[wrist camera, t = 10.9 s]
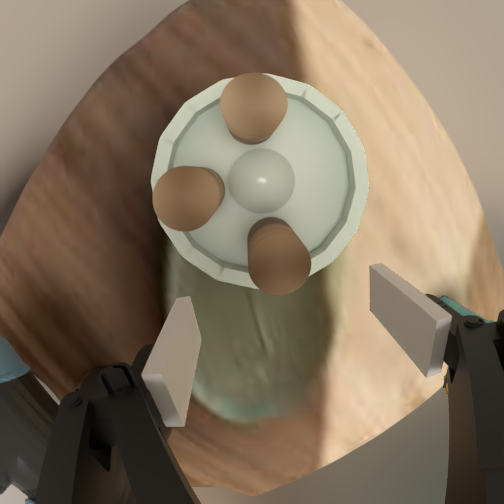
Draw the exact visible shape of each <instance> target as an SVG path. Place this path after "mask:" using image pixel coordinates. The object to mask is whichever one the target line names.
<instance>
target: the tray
mask: <svg viewBox="0 0 504 504" xmlns="http://www.w3.org/2000/svg"><path fill="white" fill-rule="evenodd" d="M265 75H266V73H265ZM267 75H268V76H270V77H272V78H274V79H275V80H276V81H277V82H278V83H279V84H280V85H281V86H282V87H283V89H284V91H285V93H286V96H287V101H288V107H287V112H286V115H285V117H284V119H283V120H282V122H281V123H280V124H279V126H278V127H277V129H276V130H275V131H274V133H273V134H272V135H271V136H270V138H269V139H267V140H266V141H264V142H262V143H260V144H256V145H248V144H244V143H241V142H239V141H237V140H236V139H235V138H234V137H233V136H232V135H231V133H230V132H229V129H228V127H227V125H226V122H225V120H224V118H223V115H222V113H221V109H220V98H221V94H222V91H223V90H224V88H225V86H226V85H227V84H228V83H229V82H230V81H231V80H232V79H234V78H229V79H223V80H221V81H219V82H218V83H216V84H214V85H212V86H211V87H209V88H207V89H206V90H204V91H202V92H201V93H199V94H198V95H196V96H194V97H193V98H191V99H190V100H188V101H187V102H185V103H184V104H183V106H182V107H181V108H180V110H179V111H178V112H177V114H176V115H175V117H174V118H173V119H172V121H171V122H170V124H169V125H168V127H167V128H166V129H165V131H164V132H163V134H162V135H161V137H160V138H161V139H159V143H158V147H157V152H156V157H155V161H154V166H153V171H152V176H151V185H152V190H153V191H154V187H155V185H156V183H157V181H158V180H159V178H160V177H161V176H162V175H163V174H164V173H165V172H167V171H168V170H170V169H172V168H175V167H179V166H195V167H206V168H210V169H212V170H214V171H215V172H217V173H218V174H219V175H220V177H221V178H222V180H223V182H224V186H225V196H224V199H223V201H222V203H221V205H220V206H219V207H218V209H217V210H216V212H215V213H214V214H213V216H212V217H211V218H210V220H209V221H208V222H207V223H206V224H205V225H203V226H202V227H200V228H198V229H196V230H193V231H187V232H182V231H176V230H173V229H171V228H169V227H167V226H166V225H165V224H163V223H162V222H161V221H160V219H159V218H158V220H159V221H160V222H159V223H160V224H161V226H162V228H163V229H164V231H165V232H166V234H167V235H168V237H169V238H170V240H171V241H172V243H173V244H174V245H175V247H176V248H177V250H178V251H179V253H180V254H181V256H183V258H184V259H186V260H187V261H189V262H190V263H192V264H193V265H195V266H196V267H198V268H199V269H201V270H202V271H204V272H205V273H207V274H208V275H210V276H211V277H213V278H214V279H216V280H217V279H218V281H222V282H227V283H231V284H236V285H241V286H245V287H250V288H255V289H257V288H258V287H257V286H256V285H255V284H254V283H253V282H252V280H251V278H250V275H249V271H248V246H247V238H248V233H249V231H250V229H251V227H252V226H253V225H254V224H255V223H256V222H257V221H259V220H260V219H263V218H266V217H277V218H280V219H282V220H284V221H285V222H286V223H288V224H289V226H290V227H291V228H292V229H293V231H294V232H295V233H296V235H297V236H298V237H299V239H300V240H301V241H302V242H303V244H304V245H305V246H306V248H307V249H308V251H309V254H310V257H311V271H310V274H309V276H310V275H312V274H313V273H315V272H317V271H319V270H320V269H322V268H324V267H325V266H327V265H329V264H330V263H332V262H333V261H334V260H335V259H336V258H337V256H338V255H339V254H340V253H341V251H342V250H343V249H344V247H345V246H346V245H347V244H348V242H349V241H350V240H351V238H352V237H353V236H354V234H355V233H356V232H357V230H358V229H359V225H360V222H361V218H362V215H363V211H364V208H365V204H366V200H367V196H368V193H369V181H368V172H367V164H366V157H365V149H364V146H363V145H362V143H361V141H360V139H359V137H358V136H357V134H356V132H355V130H354V128H353V127H352V125H351V123H350V122H349V120H348V118H347V116H346V115H345V113H344V111H343V110H342V109H340V108H339V107H338V106H337V105H335V104H334V103H333V102H332V101H330V100H329V99H328V98H326V97H325V96H324V95H322V94H321V93H320V92H318V91H317V90H316V89H314V88H313V87H312V86H310V85H309V84H305V83H302V82H298V81H295V80H291V79H287V78H283V77H280V76H276V75H271V74H267ZM308 85H309V86H308ZM342 111H343V112H342ZM357 228H358V229H357ZM332 260H333V261H332ZM258 289H259V288H258Z"/></svg>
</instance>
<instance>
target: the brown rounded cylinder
mask: <svg viewBox="0 0 504 504" xmlns="http://www.w3.org/2000/svg"><path fill="white" fill-rule="evenodd" d="M224 196H225V186H224V182H223V180H222V178H221V177H220V175H219V174H218V173H217V172H215V171H214V170H212V169H210V168H206V167H195V166H179V167H175V168H172V169H170V170H168V171H167V172H165V173H164V174H163V175H162V176H161V177H160V178H159V180H158V181H157V183H156V185H155V187H154V191H153V207H154V210H155V213H156V215H157V216H158V218H159V219H160V221H161V222H162V223H163V224H165V225H166V226H167V227H169V228H171V229H173V230H176V231H182V232H187V231H193V230H196V229H198V228H200V227H202V226H203V225H205V224H206V223H207V222H208V221H209V220H210V218H211V217H212V216H213V214H214V213H215V212H216V210H217V209H218V207H219V206H220V205H221V203H222V201H223V199H224Z"/></svg>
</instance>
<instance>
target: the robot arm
mask: <svg viewBox="0 0 504 504" xmlns="http://www.w3.org/2000/svg"><path fill="white" fill-rule="evenodd" d="M369 267H370V311H371V312H372V313H373V314H374V315H375V317H376V318H377V319H378V320H379V321H380V322H381V324H382V325H383V326H384V327H385V328H386V329H387V331H388V332H389V333H390V334H391V335H392V337H393V338H394V339H395V340H396V341H397V343H398V344H399V345H400V346H401V347H402V349H403V350H404V351H405V352H406V353H407V355H408V356H409V357H410V358H411V360H412V361H413V362H414V363H415V364H416V366H417V367H418V368H419V369H420V371H421V372H422V373H423V374H424V376H425V377H426V378H428V377H430V376H433V375H435V374H438V373H440V372H441V369H442V365H443V361H444V362H445V363H446V364H447V365H448V370H447V374H446V377H445V381H444V385H443V388H445V387H446V384H448V399H449V464H448V478H447V490H446V497H445V504H504V310H502V311H501V312H500V313H499V315H498V320H497V322H490V323H486V322H485V321H484V319H482V318H481V317H478V316H475V315H466V316H462V315H461V314H459V313H458V312H457V311H455V310H454V309H453V308H451V307H450V306H448V305H447V304H446V303H445V302H444V303H443V301H442V300H441V299H439V298H438V297H436V296H433V295H430V294H425V295H424V294H423V293H422V292H420V291H419V290H418V289H416V288H415V287H414V286H412V285H411V284H410V283H408V282H407V281H406V280H404V279H403V278H402V277H400V276H399V275H397V274H396V273H395V272H393V271H392V270H390V269H389V268H388V267H386V266H385V265H383V264H382V263H380V264H375V265H370V266H369ZM201 342H202V338H201V335H200V331H199V327H198V324H197V320H196V316H195V312H194V309H193V305H192V301H191V297H190V296H187V297H180V298H176V300H175V302H174V304H173V307H172V309H171V311H170V313H169V315H168V317H167V319H166V321H165V323H164V326H163V328H162V330H161V332H160V334H159V336H158V338H157V341H156V343H155V344H151V345H145V346H144V347H143V348H142V349H141V350H140V351H139V352H138V354H137V356H136V358H135V360H134V362H133V365H132V366H131V367H130V366H129V365H128V364H125V363H115V364H111V365H109V366H107V367H98V368H94V369H91V370H89V371H87V372H86V373H85V374H84V375H83V377H82V378H81V380H80V381H79V383H78V384H77V386H76V389H75V392H71V393H70V394H67V395H66V396H65V397H64V398H63V399H62V401H61V402H60V405H58V404H57V403H56V402H55V401H54V400H53V399H52V397H51V396H50V395H49V394H48V392H47V391H46V390H45V389H44V388H43V386H42V385H41V384H40V383H39V381H38V380H37V379H36V377H35V376H34V375H33V374H32V372H31V371H30V370H31V368H30V367H29V365H28V364H25V363H24V361H23V360H22V359H21V357H20V356H19V355H18V353H17V352H16V351H15V349H14V348H13V347H12V345H11V344H10V343H9V341H8V340H7V339H5V338H4V337H2V336H0V495H1V494H2V493H3V492H4V491H5V490H6V489H7V487H9V486H10V485H11V484H13V485H14V486H16V487H17V488H18V489H20V490H21V491H22V492H23V493H24V494H26V495H27V496H28V499H26V500H25V502H26V504H201V503H200V501H199V499H198V498H197V496H196V494H195V493H194V491H193V489H192V487H191V486H190V484H189V482H188V480H187V479H186V477H185V475H184V473H183V471H182V470H181V468H180V466H179V464H178V462H177V460H176V458H175V456H174V454H173V452H172V450H171V448H170V446H169V444H168V442H167V439H168V438H169V436H170V434H171V431H172V427H185V421H186V416H187V411H188V406H189V401H190V396H191V391H192V386H193V381H194V376H195V371H196V366H197V361H198V356H199V351H200V347H201Z"/></svg>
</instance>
